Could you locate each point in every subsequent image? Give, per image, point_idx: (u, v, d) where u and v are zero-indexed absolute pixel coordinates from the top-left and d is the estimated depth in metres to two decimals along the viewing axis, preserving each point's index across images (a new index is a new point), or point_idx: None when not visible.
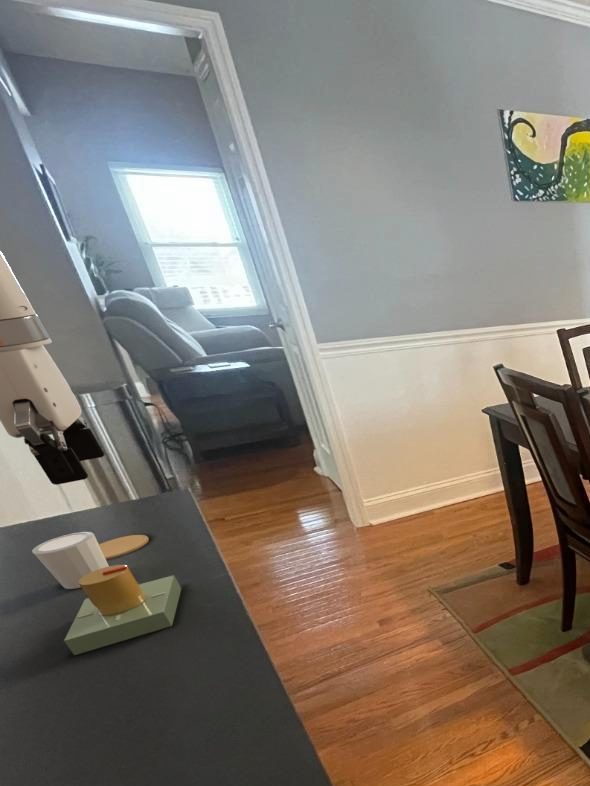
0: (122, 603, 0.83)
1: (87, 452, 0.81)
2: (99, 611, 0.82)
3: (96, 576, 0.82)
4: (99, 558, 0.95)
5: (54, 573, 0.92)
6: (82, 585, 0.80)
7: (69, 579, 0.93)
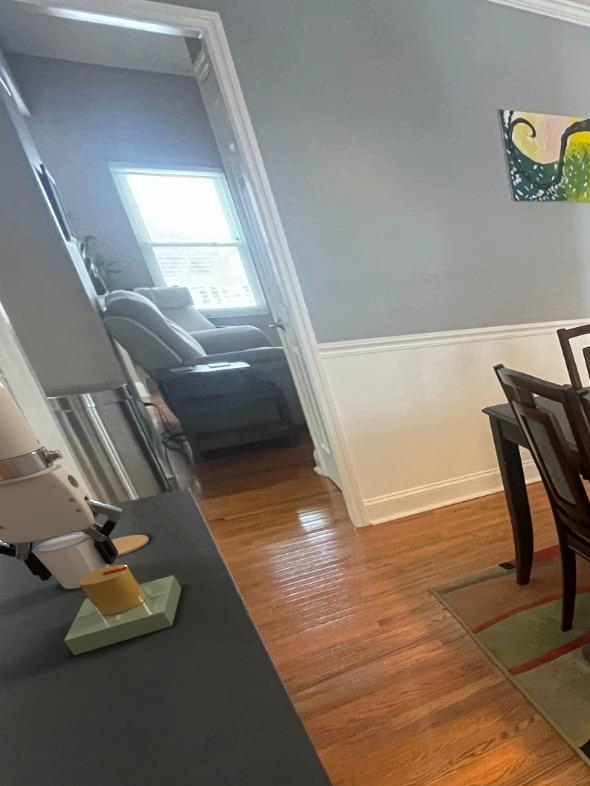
0: (122, 603, 0.83)
1: None
2: (99, 611, 0.82)
3: (96, 576, 0.82)
4: (99, 558, 0.95)
5: (54, 573, 0.92)
6: (82, 585, 0.80)
7: (69, 579, 0.93)
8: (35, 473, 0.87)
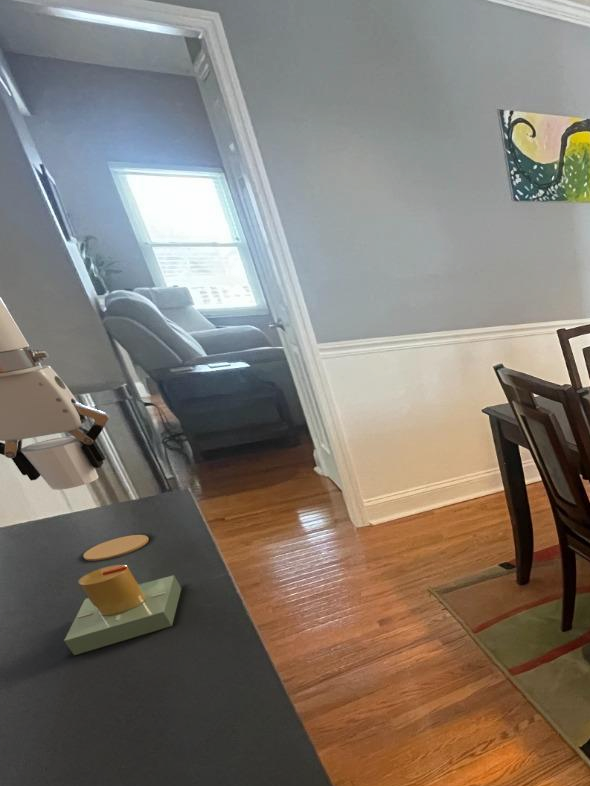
0: (122, 603, 0.83)
1: None
2: (99, 611, 0.82)
3: (96, 576, 0.82)
4: (86, 461, 0.98)
5: (42, 473, 0.95)
6: (82, 585, 0.80)
7: (57, 479, 0.96)
8: (22, 370, 0.89)
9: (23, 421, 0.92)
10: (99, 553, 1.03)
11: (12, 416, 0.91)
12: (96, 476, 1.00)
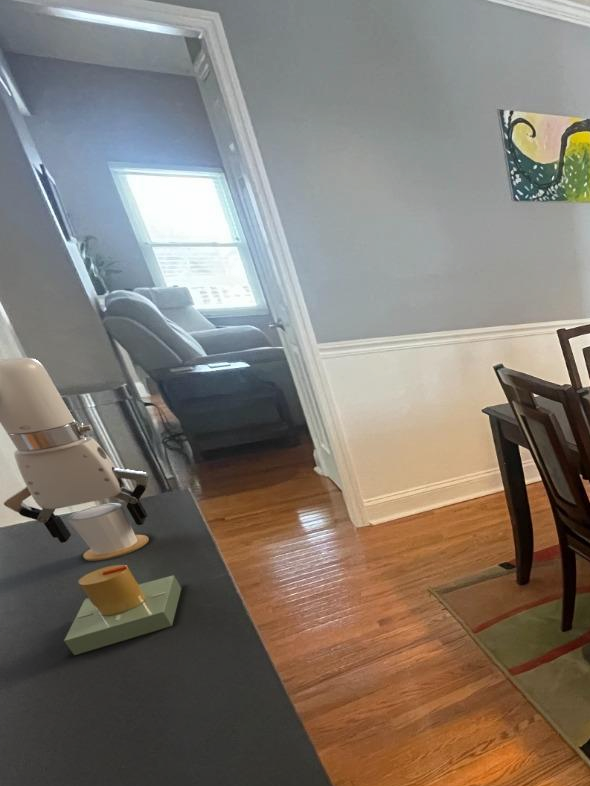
0: (122, 603, 0.83)
1: None
2: (99, 611, 0.82)
3: (96, 576, 0.82)
4: (127, 527, 1.04)
5: (86, 540, 1.01)
6: (82, 585, 0.80)
7: (100, 545, 1.02)
8: (69, 444, 0.95)
9: (68, 490, 0.97)
10: None
11: (58, 486, 0.97)
12: (135, 540, 1.06)
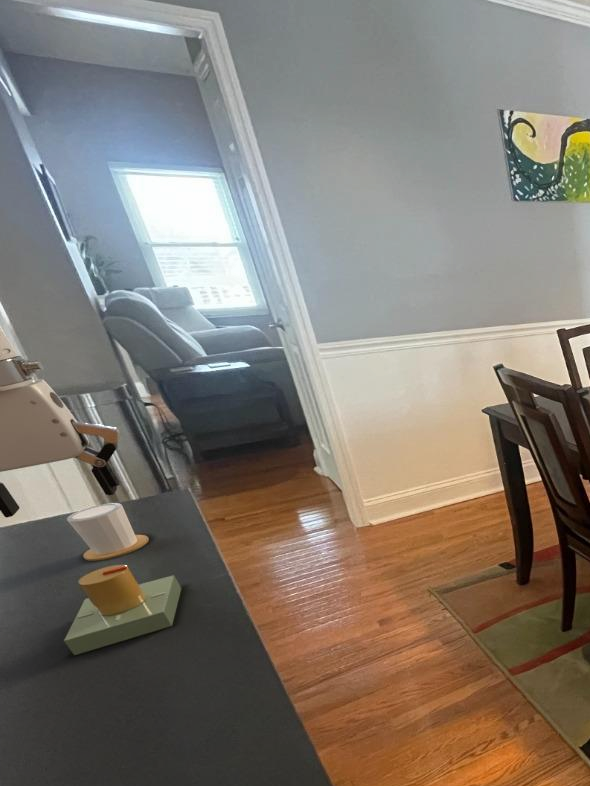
0: (122, 603, 0.83)
1: None
2: (99, 611, 0.82)
3: (96, 576, 0.82)
4: (127, 527, 1.04)
5: (86, 540, 1.01)
6: (82, 585, 0.80)
7: (100, 545, 1.02)
8: (10, 385, 0.72)
9: (11, 448, 0.74)
10: None
11: None
12: (135, 540, 1.06)
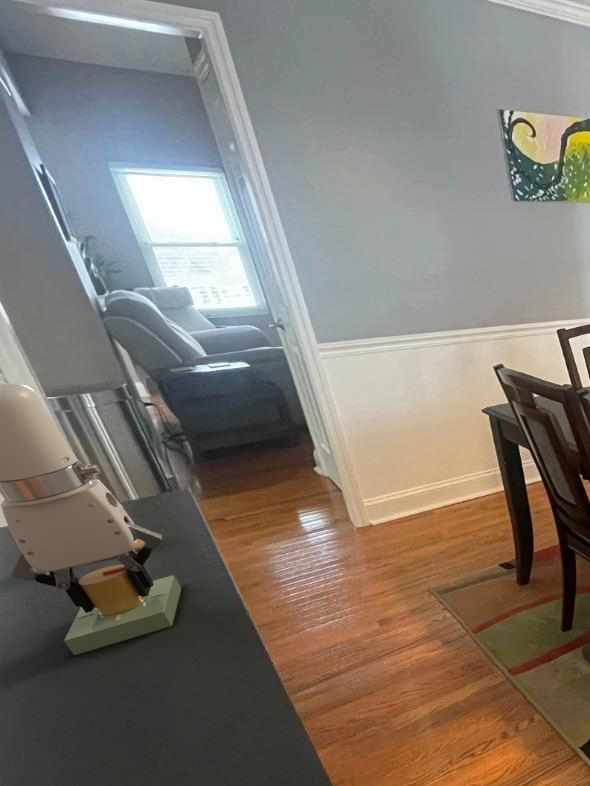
0: (122, 603, 0.83)
1: None
2: (99, 611, 0.82)
3: (96, 576, 0.82)
4: None
5: None
6: (82, 585, 0.80)
7: None
8: (70, 491, 0.75)
9: (69, 549, 0.78)
10: None
11: (57, 544, 0.77)
12: None
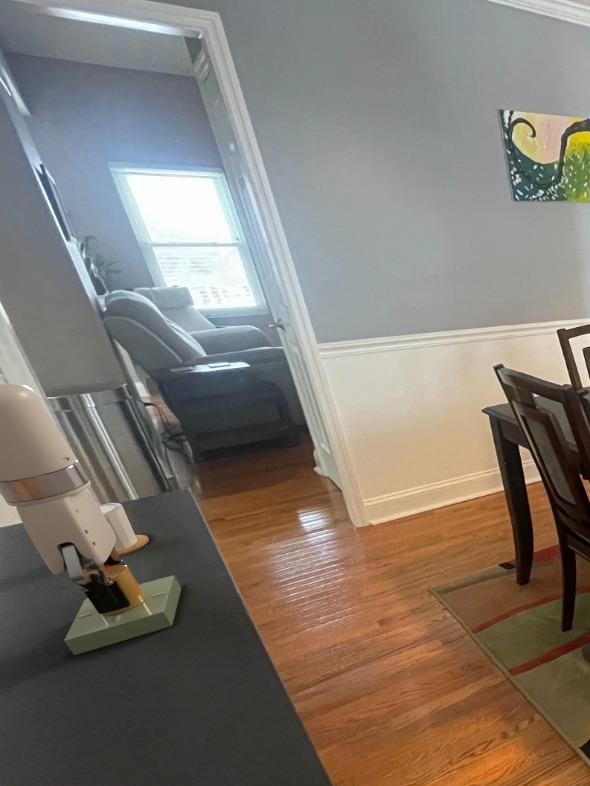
0: (141, 589, 0.86)
1: None
2: (132, 603, 0.84)
3: None
4: (127, 527, 1.04)
5: None
6: (117, 577, 0.82)
7: None
8: None
9: (104, 537, 0.80)
10: None
11: (99, 532, 0.79)
12: (135, 540, 1.06)
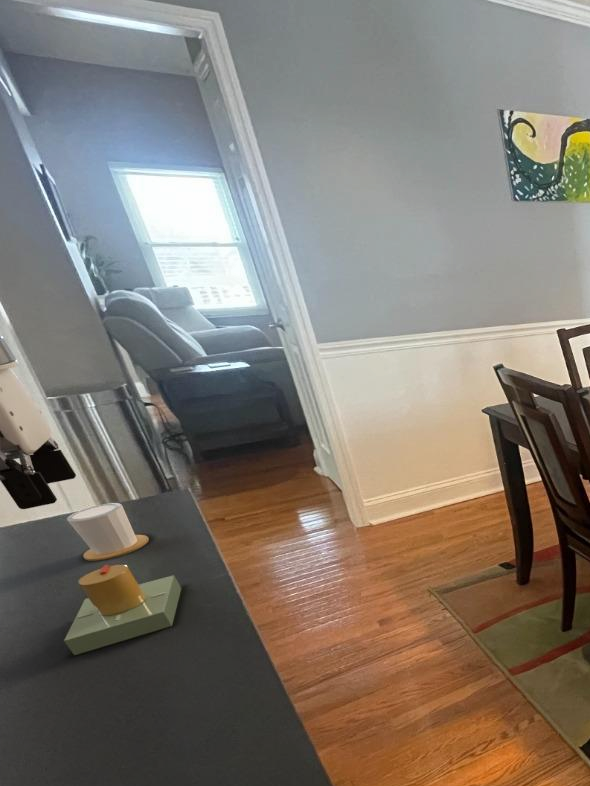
0: (141, 589, 0.86)
1: (58, 474, 0.79)
2: (132, 603, 0.84)
3: (103, 575, 0.82)
4: (127, 527, 1.04)
5: (86, 540, 1.01)
6: (116, 577, 0.82)
7: (100, 545, 1.02)
8: None
9: (34, 425, 0.73)
10: None
11: (28, 419, 0.72)
12: (135, 540, 1.06)
